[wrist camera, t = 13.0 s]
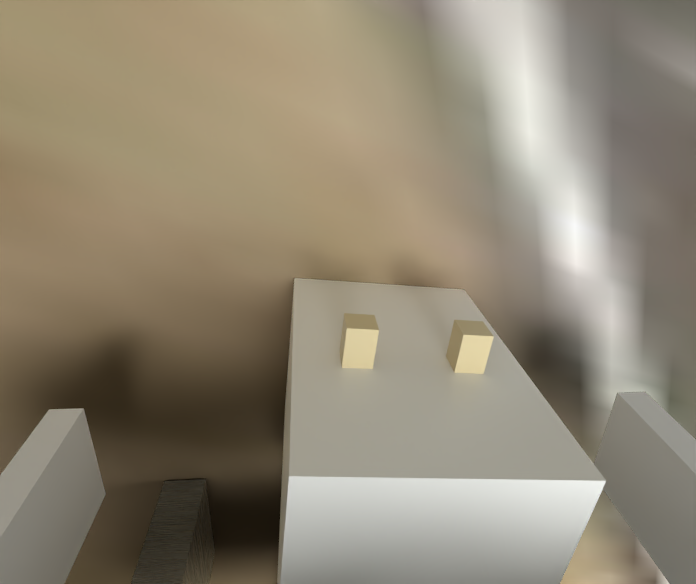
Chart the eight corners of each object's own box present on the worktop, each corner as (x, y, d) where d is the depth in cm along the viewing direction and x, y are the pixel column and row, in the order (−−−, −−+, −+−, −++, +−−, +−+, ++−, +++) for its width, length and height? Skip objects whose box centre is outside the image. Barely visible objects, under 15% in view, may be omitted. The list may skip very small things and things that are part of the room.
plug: (388, 609, 22) (431, 866, 15) (270, 611, 22) (255, 883, 14) (470, 261, 15) (626, 436, 8) (296, 247, 14) (293, 427, 7)
